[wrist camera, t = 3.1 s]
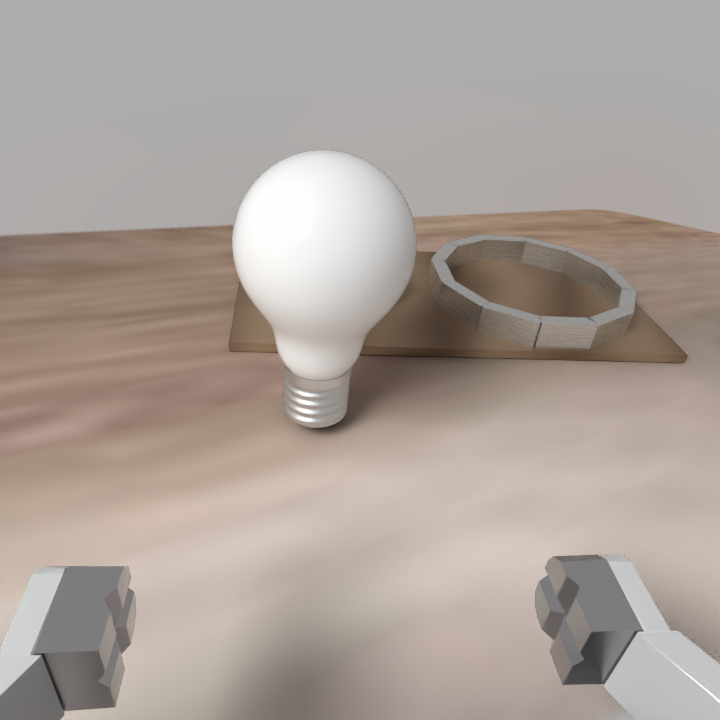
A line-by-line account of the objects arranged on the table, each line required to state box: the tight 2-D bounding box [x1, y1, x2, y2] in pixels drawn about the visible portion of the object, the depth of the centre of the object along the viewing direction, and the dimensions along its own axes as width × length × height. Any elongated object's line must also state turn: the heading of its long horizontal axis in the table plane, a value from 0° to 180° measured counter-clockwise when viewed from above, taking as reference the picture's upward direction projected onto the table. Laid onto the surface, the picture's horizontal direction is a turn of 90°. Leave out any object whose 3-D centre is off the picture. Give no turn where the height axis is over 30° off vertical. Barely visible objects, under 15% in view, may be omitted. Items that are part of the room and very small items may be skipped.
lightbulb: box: [232, 150, 417, 428], centre depth 22 cm, size 6×6×11 cm
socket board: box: [229, 235, 687, 363], centre depth 34 cm, size 24×12×2 cm, turn 95°
